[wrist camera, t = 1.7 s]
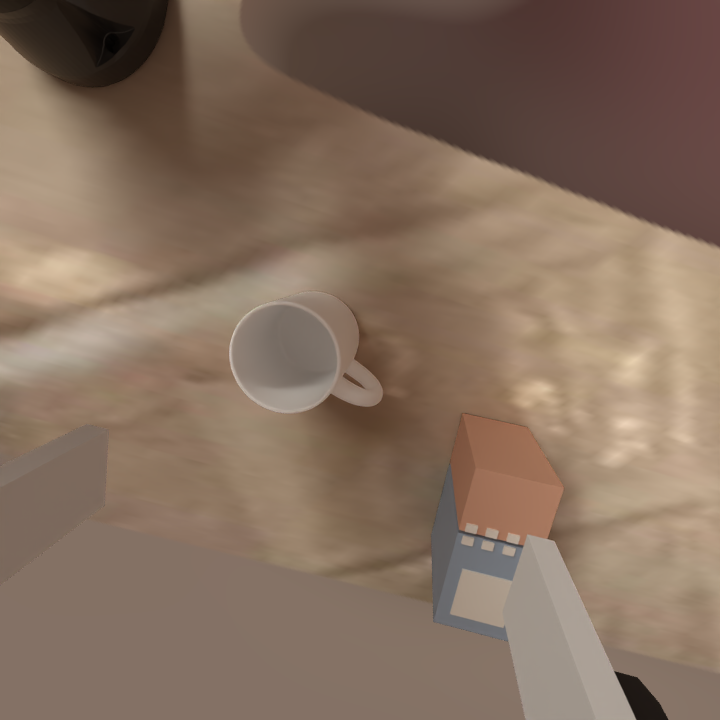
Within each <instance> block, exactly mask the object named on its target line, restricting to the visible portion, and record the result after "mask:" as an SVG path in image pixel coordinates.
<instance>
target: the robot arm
mask: <svg viewBox="0 0 720 720" xmlns="http://www.w3.org/2000/svg"><path fill="white" fill-rule="evenodd" d="M167 1H168V0H0V35H1V36H2V37H3V38H4V39H5V40H6V41H7V42H8V43H9V44H10V45H11V46H12V47H13V48H14V49H15V50H16V51H17V52H18V53H19V54H21V55H22V56H23V57H24V58H25V59H26V60H28V61H29V62H31V63H32V64H33V65H35V66H36V67H38V68H40V69H41V70H43V71H45V72H47V73H49V74H51V75H53V76H56V77H58V78H60V79H62V80H64V81H66V82H69V83H71V84H75V85H79V86H85V87H100V86H106V85H110V84H113V83H116V82H118V81H120V80H122V79H124V78H126V77H127V76H129V75H130V74H132V73H133V72H134V71H135V70H137V69H138V68H139V67H140V66H141V65H142V64H143V62H144V61H145V60H146V59H147V57H148V56H149V55H150V53H151V52H152V50H153V48H154V46H155V45H156V43H157V40H158V38H159V36H160V33H161V30H162V27H163V24H164V20H165V16H166V10H167ZM108 436H109V429H105V428H101V427H97V426H93V425H89V424H86V425H84V426H82V427H79V428H77V429H75V430H73V431H71V432H69V433H67V434H65V435H63V436H61V437H59V438H57V439H55V440H53V441H50V442H48V443H46V444H44V445H42V446H40V447H38V448H36V449H34V450H32V451H30V452H28V453H26V454H24V455H21V456H19V457H17V458H15V459H13V460H11V461H9V462H7V463H5V464H3V465H1V466H0V585H1V584H3V583H4V582H5V581H7V580H8V579H9V578H11V577H12V576H13V575H14V574H16V573H17V572H19V571H20V570H21V569H22V568H24V567H25V566H26V565H28V564H29V563H30V562H32V561H33V560H34V559H35V558H37V557H38V556H39V555H41V554H42V553H43V552H45V551H46V550H47V549H49V548H50V547H51V546H53V545H54V544H55V543H56V542H58V541H59V540H60V539H62V538H63V537H64V536H66V535H67V534H68V533H70V532H71V531H72V530H73V529H75V528H76V527H77V526H79V525H80V524H81V523H83V522H84V521H85V520H87V519H88V518H89V517H91V516H92V515H93V514H94V513H96V512H97V511H98V510H100V509H101V508H102V507H104V506H105V491H106V473H107V454H108ZM502 614H503V619H504V623H505V628H506V632H507V637H508V642H509V646H510V651H511V655H512V660H513V664H514V669H515V674H516V678H517V683H518V688H519V692H520V697H521V702H522V706H523V711H524V715H525V720H668V718H667V716H666V714H665V713H664V711H663V709H662V707H661V705H660V704H659V702H658V701H657V700H656V699H655V697H654V696H653V695H652V694H651V693H650V692H649V690H648V689H647V688H646V687H645V686H644V685H643V684H642V682H641V681H640V680H639V679H638V678H637V677H634V676H630V675H626V674H623V673H619V672H615V671H614V670H613V668H612V666H611V664H610V662H609V659H608V657H607V655H606V653H605V650H604V648H603V646H602V644H601V642H600V640H599V637H598V635H597V633H596V631H595V629H594V626H593V624H592V622H591V620H590V618H589V615H588V613H587V611H586V609H585V607H584V605H583V602H582V600H581V598H580V596H579V594H578V591H577V589H576V587H575V585H574V583H573V581H572V578H571V576H570V574H569V572H568V570H567V567H566V565H565V563H564V561H563V559H562V556H561V554H560V552H559V550H558V548H557V546H556V543H555V541H552V540H548V539H544V538H540V537H536V536H532V535H528V534H527V537H526V540H525V543H524V546H523V550H522V553H521V556H520V559H519V562H518V565H517V568H516V571H515V574H514V577H513V580H512V584H511V587H510V590H509V593H508V596H507V599H506V602H505V605H504V608H503V611H502Z"/></svg>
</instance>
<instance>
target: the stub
mask: <svg viewBox="0 0 720 720" xmlns="http://www.w3.org/2000/svg"><path fill="white" fill-rule="evenodd" d="M450 464H451V472H452V479H453V487H454V495H455V503H456V511H457V519H458V527H459V530H462V531H465V532H468V533H473V534H478V535H482V536H485V537H489V538H493V539H499V540H503V541H507V542H510V543H514V544H519V545H523V546H524V543H525V540H526V537H527V534H528V535H532V536H536V537H540V538H544V539H547V538H548V535H549V532H550V529H551V526H552V523H553V520H554V517H555V514H556V511H557V508H558V505H559V502H560V499H561V496H562V493H563V490H564V487H563V485H562V483H561V482H560V480H559V478H558V477H557V475H556V473H555V472H554V470H553V468H552V467H551V465H550V463H549V462H548V460H547V458H546V457H545V455H544V453H543V452H542V450H541V448H540V447H539V445H538V443H537V442H536V440H535V439H534V437H533V435H532V434H531V432H530V430H529V429H528V427H524V426H519V425H515V424H510V423H506V422H501V421H496V420H492V419H487V418H483V417H478V416H473V415H469V414H464V413H462V417H461V421H460V425H459V429H458V433H457V437H456V441H455V445H454V448H453V452H452V456H451V460H450Z"/></svg>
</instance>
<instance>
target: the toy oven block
mask: <svg viewBox="0 0 720 720" xmlns="http://www.w3.org/2000/svg"><path fill="white" fill-rule="evenodd" d="M431 543H432V584H433V621H434V622H436V623H440V624H444V625H447V626H451V627H455V628H459V629H463V630H466V631H470V632H474V633H478V634H481V635H485V636H489V637H493V638H497V639H501V640H504V641H508V637H507V632H506V628H505V623H504V619H503V614H502V611H503V608H504V605H505V602H506V599H507V596H508V593H509V590H510V587H511V584H512V580H513V577H514V574H515V571H516V568H517V565H518V562H519V559H520V556H521V553H522V550H523V545H519V544H514V543H510V542H507V541H503V540H499V539H493V538H489V537H485V536H482V535H478V534H473V533H468V532H465V531H462V530H459V527H458V519H457V511H456V503H455V495H454V487H453V479H452V472H451V464H449V467H448V471H447V475H446V479H445V483H444V487H443V491H442V495H441V499H440V503H439V507H438V510H437V514H436V518H435V522H434V526H433V530H432V534H431Z"/></svg>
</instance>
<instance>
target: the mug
mask: <svg viewBox="0 0 720 720" xmlns="http://www.w3.org/2000/svg"><path fill="white" fill-rule="evenodd" d="M358 345H359V328H358V325H357V321H356V319H355V317H354V315H353V313H352V312H351V310H350V309H349V308H348V306H347V305H346V304H345V303H343V302H342V301H341V300H340V299H338V298H336V297H335V296H332V295H330V294H327V293H324V292H319V291H308V292H302V293H298V294H295V295H291V296H288V297H285V298H281V299H278V300H275V301H272V302H268V303H265V304H262V305H260V306H257V307H256V308H254V309H252V310H251V311H250V312H248V313H247V314H246V315H245V316H244V317H243V318H242V319H241V320H240V322H239V323H238V325H237V326H236V328H235V330H234V332H233V335H232V338H231V342H230V350H229V358H230V365H231V369H232V372H233V375H234V377H235V380H236V382H237V383H238V385H239V387H240V388H241V389H242V391H243V392H244V393H245V394H246V395H247V396H248V397H249V398H250V399H251V400H252V401H254V402H255V403H256V404H258V405H260V406H261V407H263V408H266V409H268V410H271V411H274V412H278V413H286V414H292V413H300V412H304V411H307V410H310V409H312V408H314V407H316V406H318V405H319V404H320V403H322V402H323V401H324V400H325V399H326V398H327V397H328V396H329V395H330V394H332V395H334V396H336V397H338V398H340V399H342V400H344V401H346V402H348V403H351V404H354V405H357V406H364V407H371V406H374V405H377V404H378V403H379V402H380V401H381V399H382V397H383V389H382V386H381V384H380V382H379V381H378V379H377V378H376V377H375V376H374V375H373V374H372V373H371V372H370V371H369V370H368V369H366V368H365V367H364V366H363V365H361V364H360V363H359V362H357V361H356V360H355V359H354V357H355V355H356V352H357V349H358ZM344 373H346V374H348V375H349V376H351V377H352V378H354V379H355V380H357V381H358V382H359V383H360V384H361V385H362V386H363V387H364V388H365V389H364V388H361V387H359V386H357V385H355V384H353V383H352V382H350V381H348V380H347V379H346V378H344V377H343V375H344Z"/></svg>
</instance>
